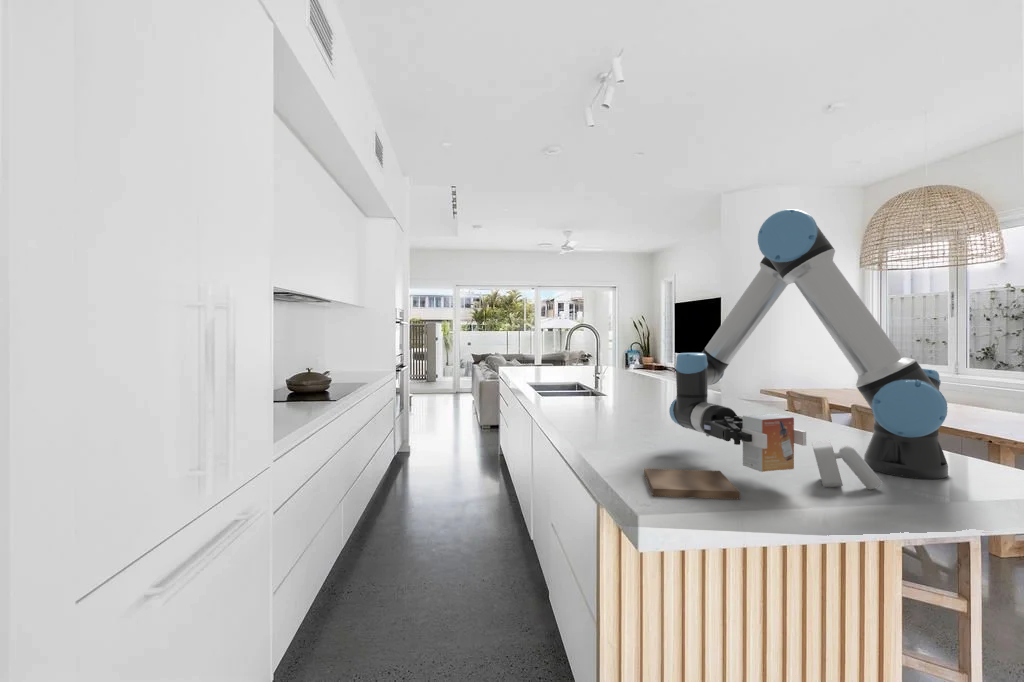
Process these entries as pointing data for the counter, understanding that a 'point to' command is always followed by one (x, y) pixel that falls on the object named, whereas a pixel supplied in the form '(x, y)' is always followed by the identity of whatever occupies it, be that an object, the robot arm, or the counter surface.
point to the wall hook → (850, 457)
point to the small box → (770, 443)
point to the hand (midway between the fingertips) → (785, 440)
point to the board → (690, 484)
